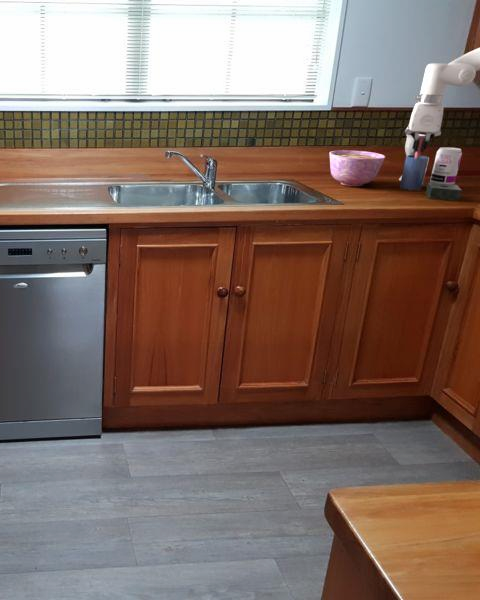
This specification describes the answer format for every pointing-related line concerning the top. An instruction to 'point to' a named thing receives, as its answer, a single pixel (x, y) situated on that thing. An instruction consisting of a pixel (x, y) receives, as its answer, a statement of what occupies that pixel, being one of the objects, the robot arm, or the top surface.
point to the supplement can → (446, 165)
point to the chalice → (410, 146)
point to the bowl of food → (355, 166)
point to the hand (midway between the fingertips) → (418, 150)
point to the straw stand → (443, 192)
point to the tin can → (414, 172)
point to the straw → (419, 146)
